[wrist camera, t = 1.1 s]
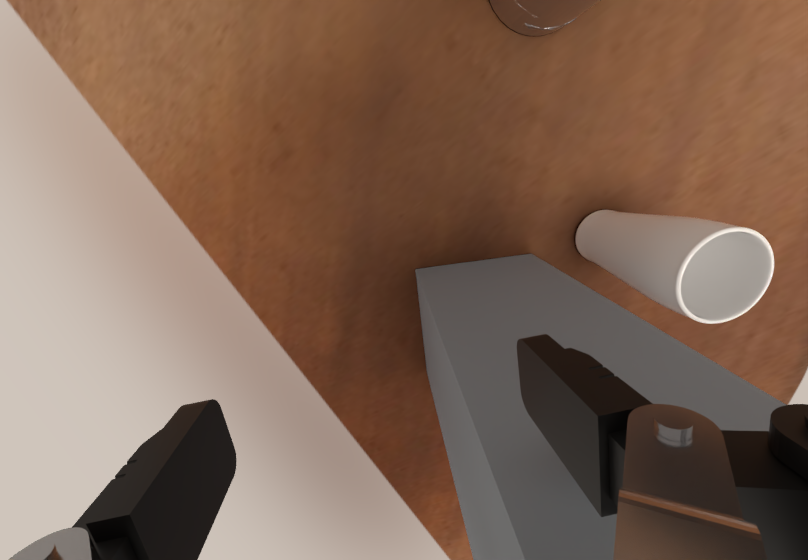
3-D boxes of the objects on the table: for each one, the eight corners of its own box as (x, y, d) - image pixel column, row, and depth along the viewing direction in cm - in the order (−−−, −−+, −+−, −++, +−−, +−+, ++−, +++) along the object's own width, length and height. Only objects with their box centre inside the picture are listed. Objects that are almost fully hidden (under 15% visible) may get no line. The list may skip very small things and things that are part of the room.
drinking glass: (572, 275, 40) (681, 339, 26) (560, 214, 38) (670, 246, 24) (634, 254, 40) (778, 306, 26) (625, 192, 38) (776, 211, 24)
